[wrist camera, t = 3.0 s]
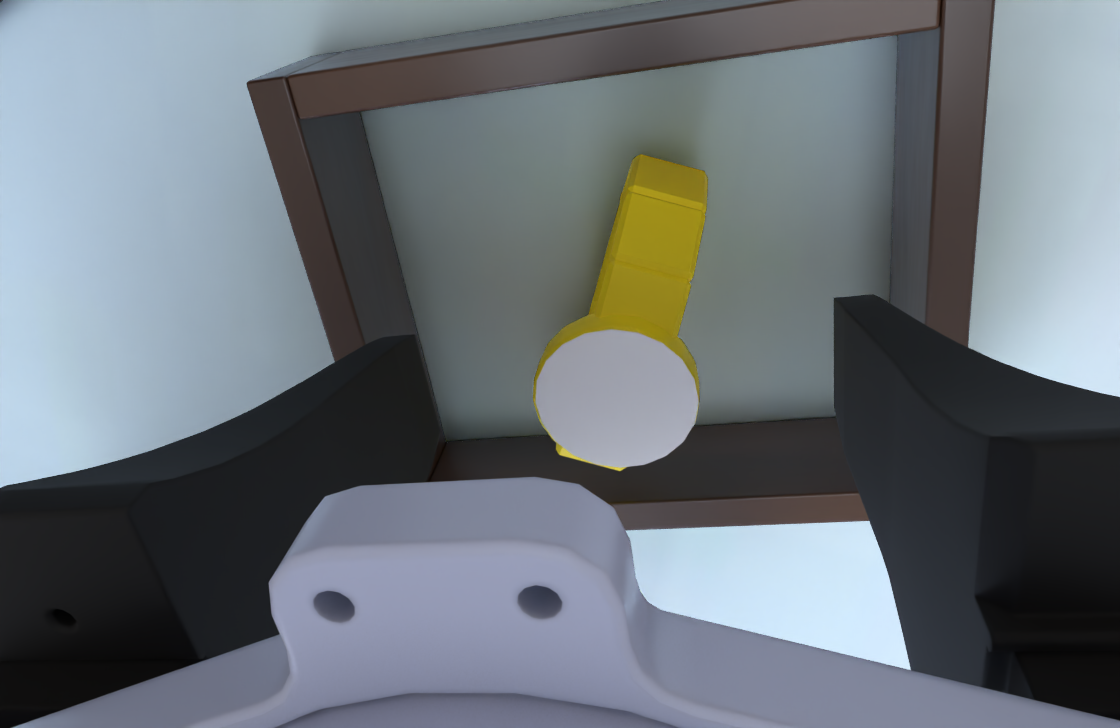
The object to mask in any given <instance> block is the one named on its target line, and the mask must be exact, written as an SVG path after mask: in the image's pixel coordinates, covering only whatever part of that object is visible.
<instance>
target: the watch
mask: <svg viewBox="0 0 1120 728" xmlns="http://www.w3.org/2000/svg"><path fill="white" fill-rule="evenodd" d="M707 192H708V177H707V175H706V173H705V172H704V171H702V170H699V169H695V168H691V167H687V166H684V165H680V164H676V163H672V162H669V161H665V160H661V159H657V158H654V157H650V156H646V155H642V154H640V155H638V156H636V157H635V158H634V159H633V160H632V163H631V165H630V169H629V172H628V175H627V178H626V182H625V185H624V188H623V192H622V193H621V196H620V203H619V206H618V210H617V213H616V217H615V220H614V224H613V228H612V231H611V235H610V238H609V242H608V246H607V249H606V253H605V256H604V260H603V263H602V267H601V271H600V274H599V278H598V281H597V285H596V289H595V292H594V296H593V299H592V303H591V306H590V310H589V314H588V315H587V316H584V317H582V318H580V319H578V320H576V321H574V322H572V323H570V324H568V325H566V326H565V327H563V328H562V329H561V330H560V331H559V332H558V333H557V334H556V335H555V336H554V337H553V338H552V339H551V340H550V342H549V343H548V344H547V346H546V348H545V350H544V353H543V355H542V357H541V359H540V361H539V365H538V368H537V371H536V374H535V377H534V387H533V402H534V405H535V409H536V412H537V415H538V418H539V421H540V423H541V424H542V426H543V427H544V429H545V430H546V431H547V433H548V434H549V435H550V437H551V438H552V439H553V440H554V441H555V442H556V450H557V452H558V454H559V455H561V456H565V457H569V458H573V459H576V460H580V461H584V462H588V463H591V464H595V465H599V466H603V467H606V468H610V469H614V470H618V471H621V470H623V469H625V468H626V467H630V466H639V465H645V464H648V463H650V462H652V461H655V460H657V459H660V458H662V457H665V456H667V455H668V454H669V453H670V452H672V451H673V450H674V449H675V448H676V447H678V446H679V445H680V444H681V443H683V442H684V440H685V439H686V437H687V435H688V434H689V432H690V430H691V429H692V427H693V426H694V424H695V422H696V418H697V413H698V407H699V402H700V388H699V377H698V372H697V367H696V363H695V360H694V358H693V357H692V355H691V353H690V352H689V350H688V349H687V347H686V345H685V344H684V342H683V341H682V340H681V339H680V338H679V337H678V332H679V329H680V325H681V321H682V318H683V314H684V311H685V307H686V303H687V300H688V296H689V292H690V289H691V284H690V282H691V280H692V278H693V276H694V272H695V267H696V262H697V257H698V252H699V247H700V242H701V237H702V232H703V227H704V222H705V217H706V216H705V213H706V210H707Z"/></svg>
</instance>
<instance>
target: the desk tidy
mask: <svg viewBox="0 0 1120 728" xmlns="http://www.w3.org/2000/svg"><path fill="white" fill-rule="evenodd" d="M994 11H995V0H665V1H659V2H653V3H646V4H640V5H634V6H627V7H621V8H615V9H608V10H602V11H596V12H589V13H583V14H577V15H570V16H564V17H558V18H551V19H545V20H539V21H532V22H526V23H520V24H513V25H507V26H501V27H494V28H488V29H482V30H475V31H469V32H463V33H456V34H450V35H443V36H437V37H431V38H424V39H418V40H412V41H405V42H399V43H393V44H386V45H380V46H374V47H367V48H361V49H355V50H348V51H345V52H336V53H329V54H323V55H316V56H311V57H308V58H306V59H303V60H301V61H298V62H295V63H293V64H290V65H288V66H285V67H283V68H280V69H278V70H275V71H273V72H270V73H267V74H265V75H262V76H260V77H257V78H255V79H252V80H250V81H248V82H247V88H248V91H249V94H250V97H251V100H252V103H253V106H254V110H255V113H256V116H257V119H258V122H259V125H260V128H261V131H262V135H263V138H264V141H265V144H266V147H267V150H268V153H269V157H270V160H271V163H272V166H273V169H274V172H275V175H276V179H277V182H278V185H279V188H280V191H281V194H282V197H283V201H284V204H285V207H286V210H287V213H288V216H289V219H290V223H291V226H292V229H293V232H294V235H295V238H296V241H297V244H298V248H299V251H300V254H301V257H302V260H303V263H304V266H305V270H306V273H307V276H308V279H309V282H310V285H311V288H312V292H313V295H314V298H315V301H316V304H317V307H318V310H319V314H320V317H321V320H322V323H323V326H324V329H325V332H326V336H327V339H328V342H329V345H330V348H331V351H332V354H333V357H334V361H335V362H336V361H338V360H339V359H341V358H343V357H345V356H346V355H348V354H350V353H351V352H353V351H355V350H357V349H358V348H360V347H362V346H364V345H366V344H368V343H370V342H372V341H374V340H377V339H379V338H382V337H388V336H400V335H411V334H415V336H416V340H417V343H418V347H419V351H420V355H421V358H422V362H423V366H424V370H425V374H426V377H427V381H428V385H429V389H430V393H431V396H432V400H433V404H434V408H435V411H436V415H437V419H438V423H439V427H440V430H441V431H440V435H439V439H438V443H437V448H436V452H435V456H434V460H433V463H432V467H431V471H430V474H429V477H428V479H427V482H444V481H464V480H483V479H503V478H523V477H539V478H545V479H551V480H557V481H563V482H569V483H575V484H579V485H581V486H582V487H584V488H585V489H587V490H588V491H590V492H591V493H593V494H594V495H596V496H597V497H599V498H600V499H602V500H603V501H605V502H606V503H607V504H609V505H610V506H612V507H613V508H614V509H615V511H616V513H617V515H618V517H619V519H620V521H621V523H622V525H623V527H624V529H625V530H647V529H673V528H698V527H724V526H750V525H775V524H801V523H826V522H852V521H869V518H868V516H867V513H866V510H865V508H864V505H863V503H862V500H861V497H860V495H859V492H858V489H857V487H856V484H855V481H854V479H853V476H852V473H851V471H850V468H849V465H848V462H847V460H846V457H845V454H844V450H843V446H842V441H841V437H840V432H839V427H838V422H837V418H823V419H807V420H791V421H774V422H758V423H742V424H726V425H709V426H693V427H692V429H691V430H690V432H689V434H688V435H687V437H686V439H685V440H684V442H683V443H681V444H680V445H679V446H678V447H676V448H675V449H674V450H673V451H672V452H670V453H669V454H668V455H667V456H665V457H662V458H660V459H657V460H655V461H652V462H650V463H648V464H645V465H639V466H630V467H626V468H625V469H623V470H621V471H618V470H614V469H610V468H606V467H603V466H599V465H595V464H591V463H588V462H584V461H580V460H576V459H573V458H569V457H565V456H561V455H559V454H558V452H557V450H556V442H555V441H554V440H553V439H552V438H551V437H550V435H547V436H531V437H515V438H498V439H482V440H466V441H450V442H447V443H446V441H445V437H444V433H443V429H442V425H441V422H440V418H439V414H438V410H437V406H436V402H435V399H434V395H433V391H432V387H431V383H430V380H429V376H428V372H427V368H426V364H425V360H424V357H423V353H422V349H421V345H420V341H419V338H418V334H417V330H416V326H415V322H414V318H413V315H412V311H411V307H410V303H409V299H408V296H407V292H406V288H405V284H404V280H403V276H402V273H401V269H400V265H399V261H398V257H397V254H396V250H395V246H394V242H393V238H392V234H391V231H390V227H389V223H388V219H387V215H386V212H385V208H384V204H383V200H382V196H381V192H380V189H379V185H378V181H377V177H376V173H375V170H374V166H373V162H372V158H371V154H370V150H369V147H368V143H367V139H366V135H365V131H364V128H363V124H362V120H361V116H360V111H367V110H374V109H381V108H388V107H395V106H402V105H409V104H416V103H423V102H430V101H437V100H444V99H451V98H458V97H465V96H472V95H479V94H486V93H493V92H500V91H507V90H514V89H522V88H529V87H536V86H543V85H550V84H557V83H564V82H571V81H578V80H585V79H592V78H599V77H606V76H613V75H620V74H627V73H634V72H641V71H648V70H655V69H662V68H669V67H676V66H683V65H690V64H697V63H704V62H711V61H718V60H725V59H732V58H739V57H746V56H753V55H760V54H767V53H774V52H781V51H788V50H795V49H802V48H809V47H816V46H823V45H830V44H837V43H844V42H851V41H858V40H865V39H872V38H879V37H886V36H893V35H898V45H897V79H896V113H895V147H894V181H893V215H892V249H891V283H890V304H892V305H893V306H895V307H897V308H898V309H900V310H902V311H903V312H905V313H907V314H908V315H910V316H912V317H913V318H915V319H917V320H918V321H920V322H922V323H923V324H925V325H927V326H928V327H930V328H932V329H934V330H935V331H937V332H939V333H941V334H943V335H944V336H946V337H948V338H950V339H952V340H954V341H956V342H958V343H960V344H962V345H964V346H966V347H968V340H969V327H970V315H971V302H972V289H973V277H974V264H975V251H976V239H977V226H978V213H979V201H980V188H981V175H982V163H983V150H984V137H985V125H986V112H987V99H988V87H989V74H990V61H991V49H992V36H993V23H994Z"/></svg>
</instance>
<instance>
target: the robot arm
mask: <svg viewBox="0 0 1120 728" xmlns="http://www.w3.org/2000/svg"><path fill="white" fill-rule="evenodd" d="M834 408H835V413H836V418H837V422H838V427H839V432H840V437H841V441H842V446H843V450H844V454H845V457H846V460H847V462H848V465H849V468H850V471H851V473H852V476H853V479H854V481H855V484H856V487H857V489H858V492H859V495H860V497H861V500H862V503H863V505H864V508H865V510H866V513H867V516H868V518H869V521H870V524H871V526H872V529H873V532H874V534H875V537H876V540H877V542H878V545H879V547H880V550H881V553H882V556H883V559H884V562H885V565H886V568H887V571H888V575H889V578H890V582H891V586H892V591H893V595H894V599H895V603H896V607H897V611H898V615H899V619H900V624H901V628H902V632H903V637H904V641H905V645H906V650H907V654H908V659H909V663H910V667H911V670H907V669H903V668H899V667H895V666H891V665H886V664H882V663H878V662H874V661H870V660H866V659H862V658H857V657H853V656H849V655H845V654H841V653H837V652H832V651H828V650H824V649H820V648H816V647H812V646H808V645H803V644H799V643H795V642H791V641H787V640H783V639H778V638H774V637H770V636H766V635H762V634H758V633H754V632H749V631H745V630H741V629H737V628H733V627H729V626H724V625H720V624H716V623H712V622H708V621H704V620H700V619H695V618H691V617H687V616H683V615H679V614H675V613H670V612H666V611H663V610H660V609H658V608H657V607H655V606H653V605H652V604H650V603H649V602H648V601H647V600H646V599H645V598H644V596H643V595H642V593H641V592H640V589H639V585H638V582H637V579H636V576H635V569H634V563H633V556H632V549H631V543H630V539H629V537H628V535H627V533H626V531H625V529H624V527H623V525H622V523H621V521H620V519H619V517H618V515H617V513H616V511H615V509H614V508H613V507H612V506H610V505H609V504H607V503H606V502H605V501H603V500H602V499H600V498H599V497H597V496H596V495H594V494H593V493H591V492H590V491H588V490H587V489H585V488H584V487H582V486H581V485H579V484H575V483H569V482H563V481H557V480H551V479H545V478H539V477H523V478H503V479H483V480H464V481H444V482H427V479H428V477H429V474H430V471H431V467H432V463H433V460H434V456H435V452H436V448H437V443H438V439H439V435H440V431H441V430H440V427H439V423H438V419H437V415H436V411H435V408H434V404H433V400H432V396H431V393H430V389H429V385H428V381H427V377H426V374H425V370H424V366H423V362H422V358H421V355H420V351H419V347H418V343H417V340H416V336H415V334H411V335H400V336H388V337H382V338H379V339H377V340H374V341H372V342H370V343H368V344H366V345H364V346H362V347H360V348H358V349H357V350H355V351H353V352H351V353H350V354H348V355H346V356H345V357H343V358H341V359H339V360H338V361H336V362H334V363H333V364H331V365H329V366H328V367H326V368H325V369H323V370H321V371H320V372H318V373H316V374H315V375H313V376H311V377H310V378H308V379H306V380H305V381H303V382H301V383H299V384H297V385H296V386H294V387H292V388H290V389H288V390H287V391H285V392H283V393H281V394H280V395H278V396H276V397H274V398H272V399H271V400H269V401H267V402H265V403H263V404H262V405H260V406H258V407H256V408H254V409H252V410H250V411H248V412H246V413H244V414H242V415H239V416H237V417H235V418H233V419H231V420H229V421H226V422H224V423H222V424H220V425H217V426H215V427H213V428H210V429H208V430H206V431H203V432H201V433H198V434H195V435H193V436H190V437H187V438H184V439H182V440H179V441H176V442H173V443H171V444H168V445H165V446H163V447H160V448H157V449H154V450H151V451H148V452H145V453H142V454H139V455H135V456H132V457H129V458H125V459H122V460H118V461H115V462H111V463H107V464H104V465H100V466H96V467H92V468H88V469H84V470H80V471H76V472H71V473H67V474H62V475H57V476H52V477H47V478H42V479H38V480H33V481H28V482H23V483H18V484H12V485H7V486H4V487H2V488H0V728H1120V397H1116V396H1112V395H1107V394H1102V393H1098V392H1093V391H1090V390H1086V389H1082V388H1078V387H1074V386H1071V385H1067V384H1063V383H1059V382H1056V381H1053V380H1049V379H1046V378H1043V377H1040V376H1037V375H1034V374H1031V373H1028V372H1026V371H1023V370H1020V369H1017V368H1015V367H1012V366H1009V365H1006V364H1004V363H1001V362H999V361H996V360H994V359H992V358H989V357H987V356H985V355H983V354H981V353H978V352H976V351H974V350H972V349H970V348H968V347H966V346H964V345H962V344H960V343H958V342H956V341H954V340H952V339H950V338H948V337H946V336H944V335H943V334H941V333H939V332H937V331H935V330H934V329H932V328H930V327H928V326H927V325H925V324H923V323H922V322H920V321H918V320H917V319H915V318H913V317H912V316H910V315H908V314H907V313H905V312H903V311H902V310H900V309H898V308H897V307H895V306H893V305H892V304H890V303H888V302H887V301H885V300H883V299H882V298H880V297H878V296H875V295H861V296H850V297H838V298H834Z"/></svg>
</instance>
